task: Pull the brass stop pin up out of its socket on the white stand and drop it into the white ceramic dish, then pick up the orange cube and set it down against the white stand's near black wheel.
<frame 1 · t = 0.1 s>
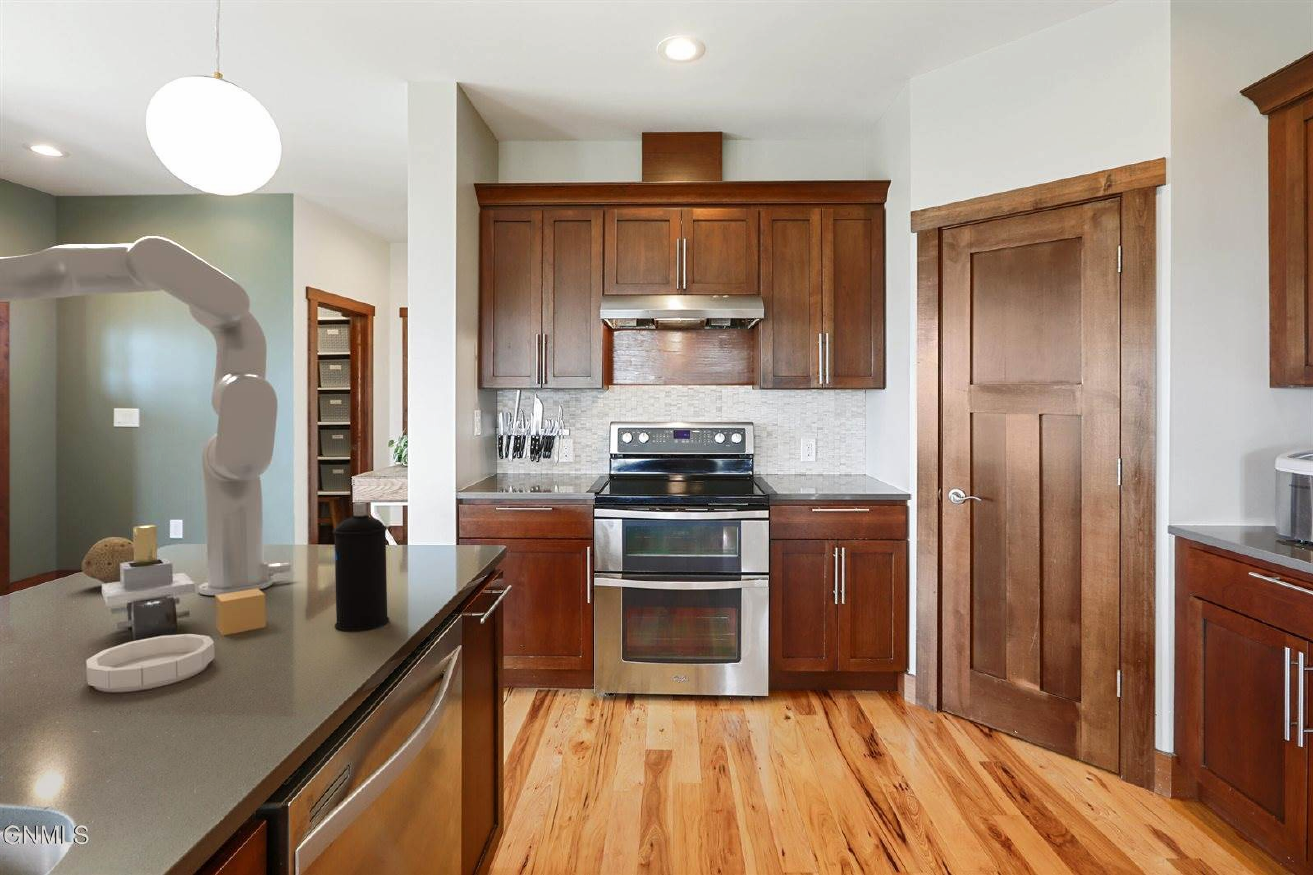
dish: (153, 673, 90), on the countertop
orange cube: (241, 628, 109), on the countertop
white stand: (150, 631, 107), on the countertop
pin: (146, 581, 109), point 7 cm above the countertop, touching white stand
aerosol can: (362, 625, 110), on the countertop
natural sponge: (112, 586, 136), on the countertop
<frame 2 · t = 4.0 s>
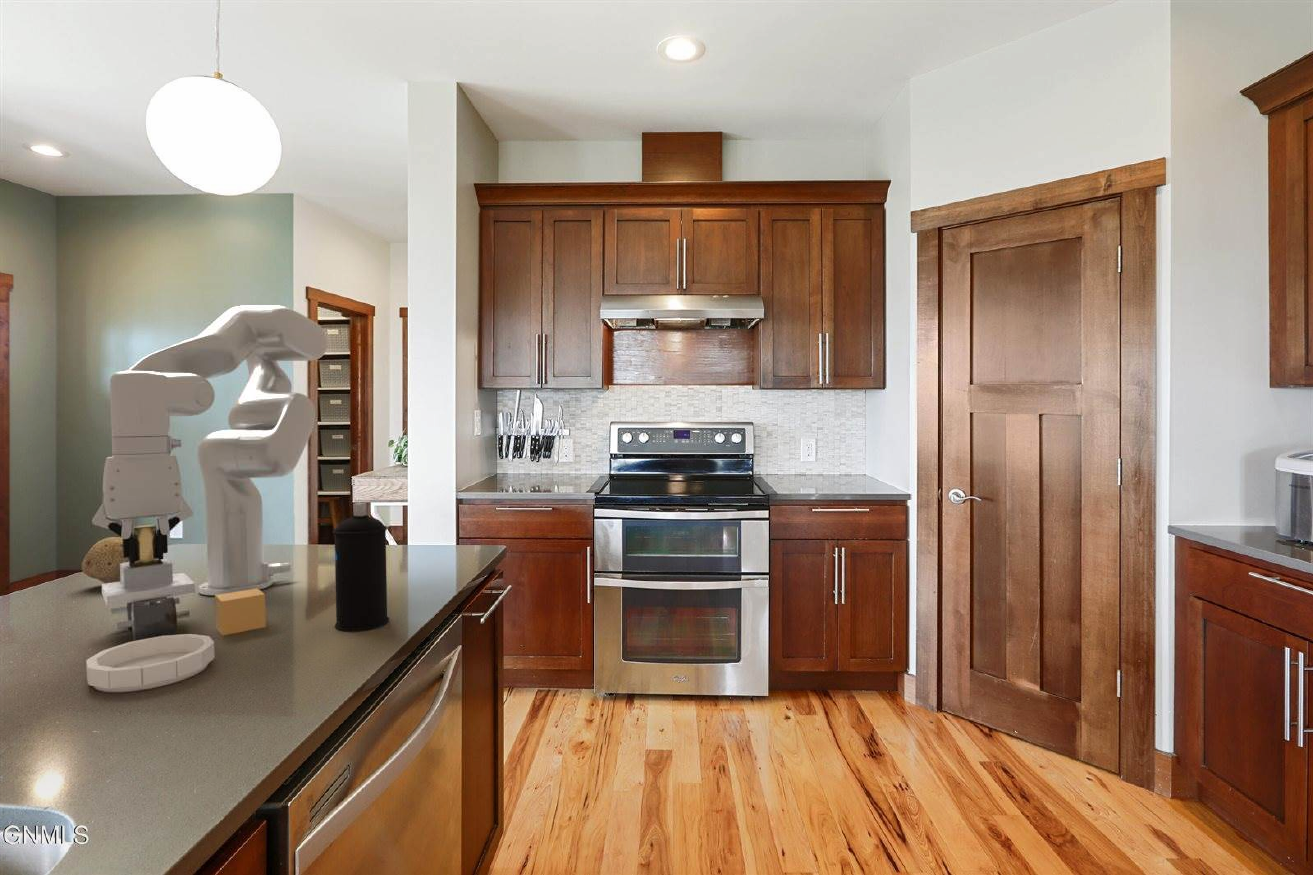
hand: (145, 558, 109), 11 cm above the countertop, tool pointing down, fingers closed on pin, 3 cm apart
pin: (146, 581, 109), point 8 cm above the countertop, touching gripper, white stand
everything else where it was.
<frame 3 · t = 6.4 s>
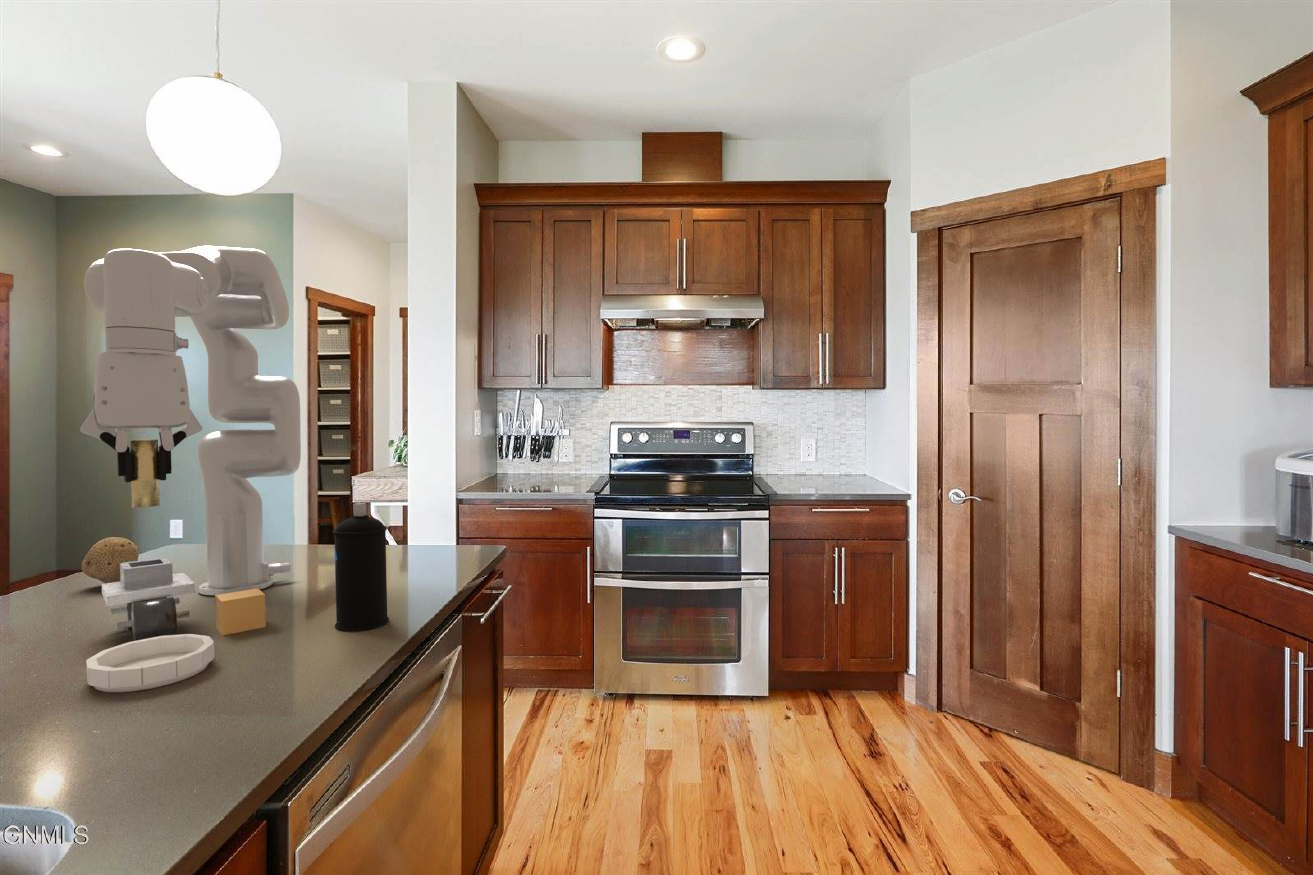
hand: (145, 479, 90), 26 cm above the countertop, tool pointing down, fingers closed on pin, 3 cm apart
pin: (146, 506, 90), point 22 cm above the countertop, touching gripper
everything else where it was.
when the fingers open (6 cm above the countertop, at t = 9.1 s): pin drops 2 cm, resting on dish.
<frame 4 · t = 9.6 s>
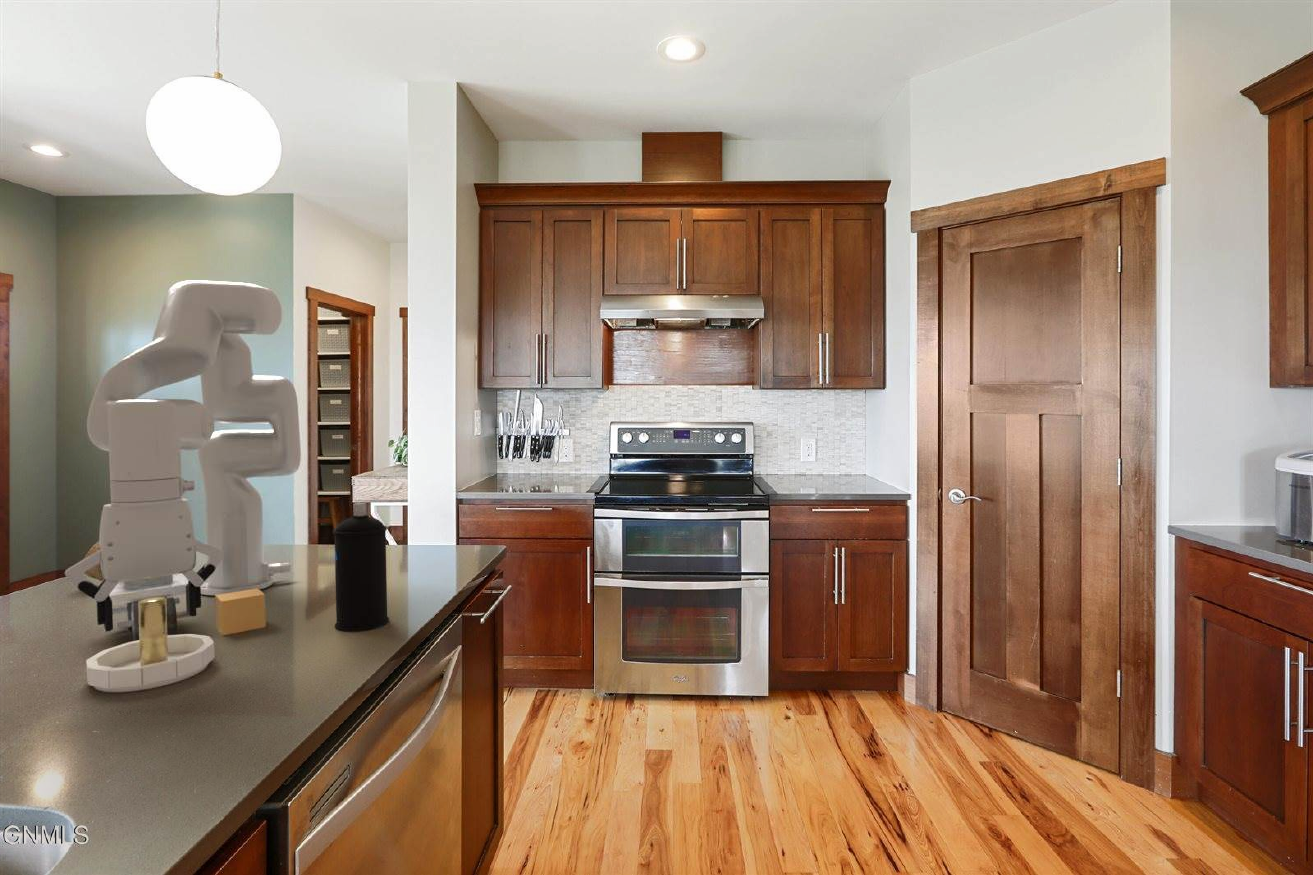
hand: (151, 620, 89), 7 cm above the countertop, tool pointing down, fingers open, 8 cm apart
pin: (154, 666, 90), point 1 cm above the countertop, touching dish
everything else where it was.
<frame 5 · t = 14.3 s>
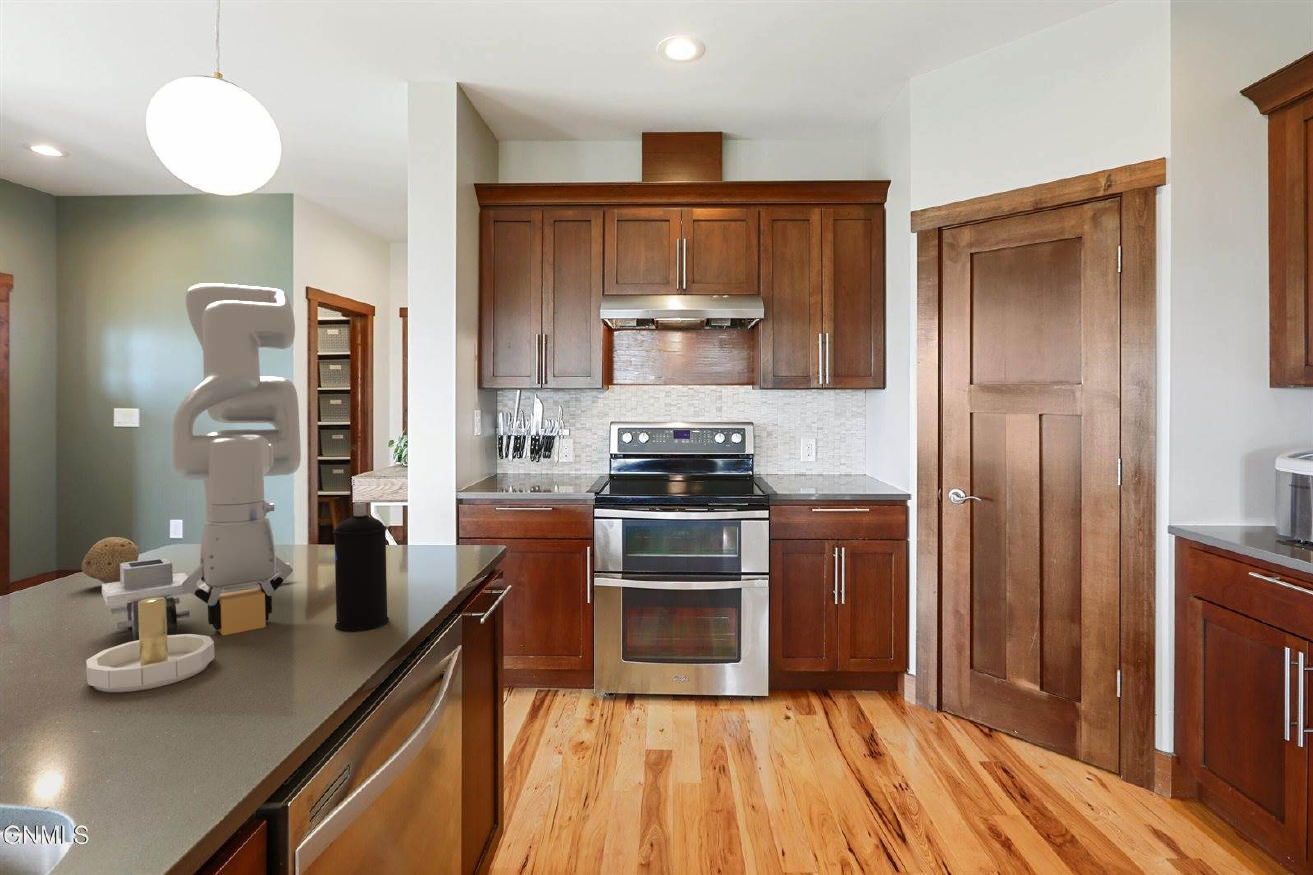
hand: (240, 622, 109), 1 cm above the countertop, tool pointing down, fingers closed on orange cube, 6 cm apart
orange cube: (241, 627, 109), on the countertop, touching gripper
everything else where it was.
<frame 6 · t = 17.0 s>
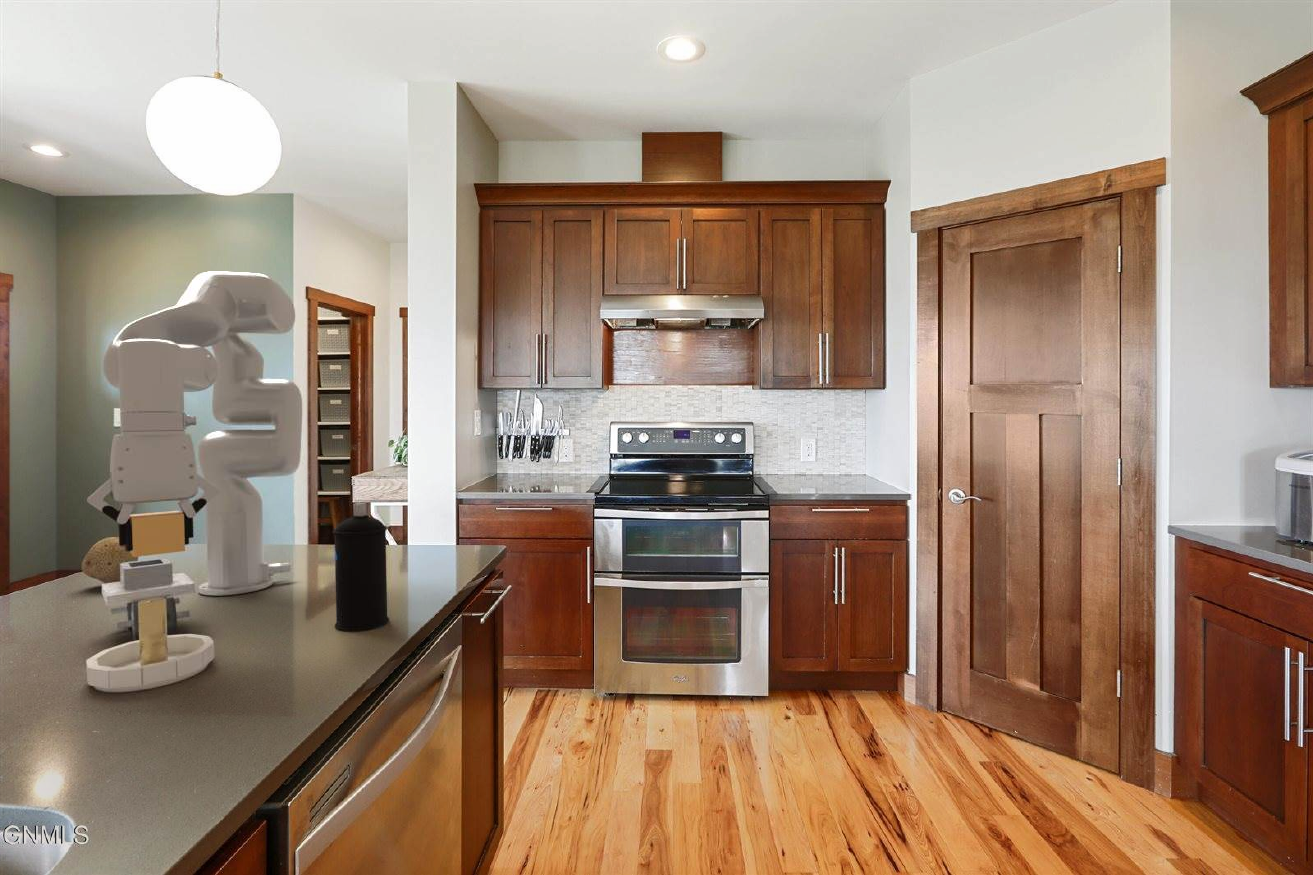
hand: (157, 545, 98), 15 cm above the countertop, tool pointing down, fingers closed on orange cube, 6 cm apart
orange cube: (157, 551, 98), point 15 cm above the countertop, touching gripper
everything else where it was.
when the fingers open (2 cm above the countertop, at t = 19.9 s): orange cube drops 1 cm, on the countertop.
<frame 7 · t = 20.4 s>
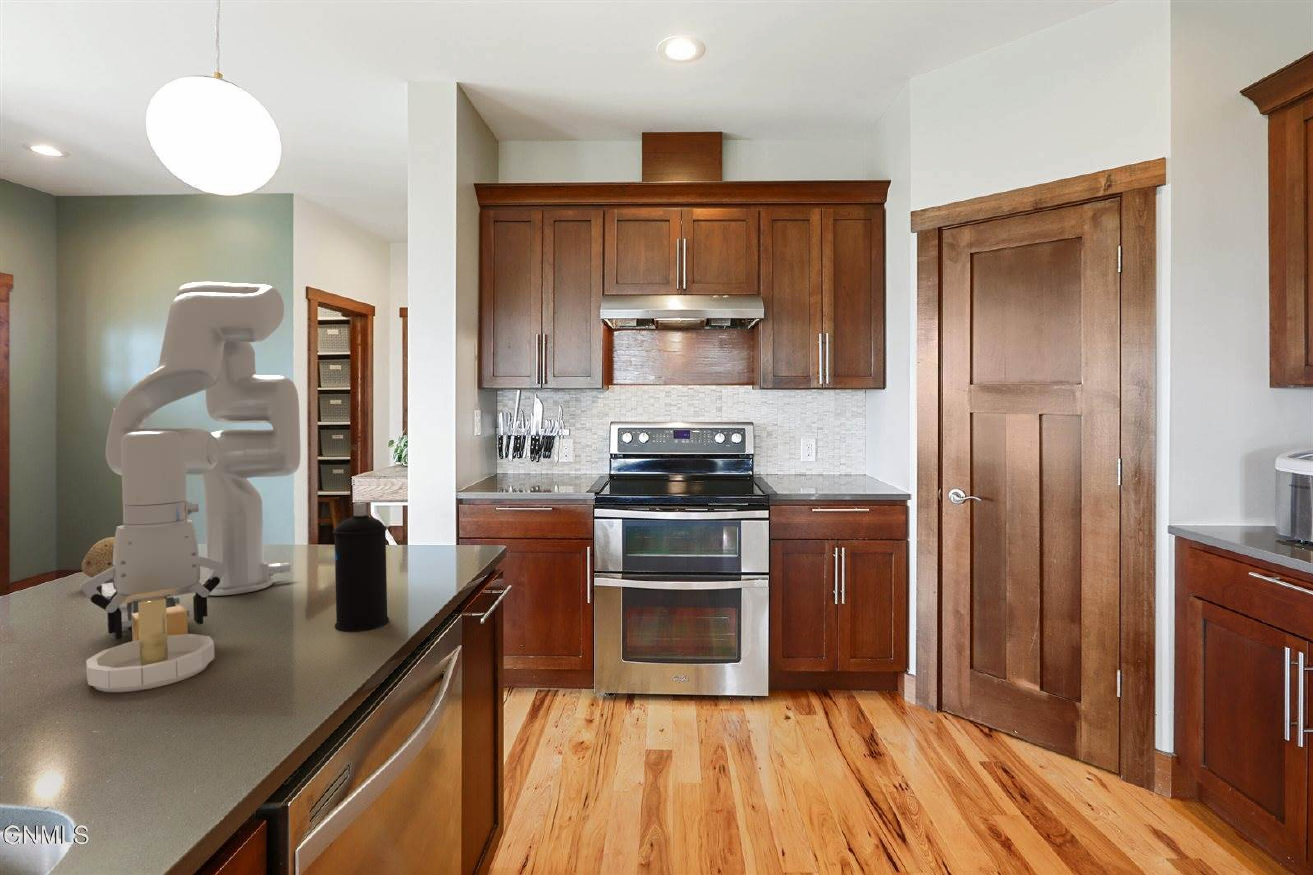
hand: (159, 629, 99), 3 cm above the countertop, tool pointing down, fingers open, 9 cm apart
orange cube: (160, 649, 99), on the countertop
everything else where it was.
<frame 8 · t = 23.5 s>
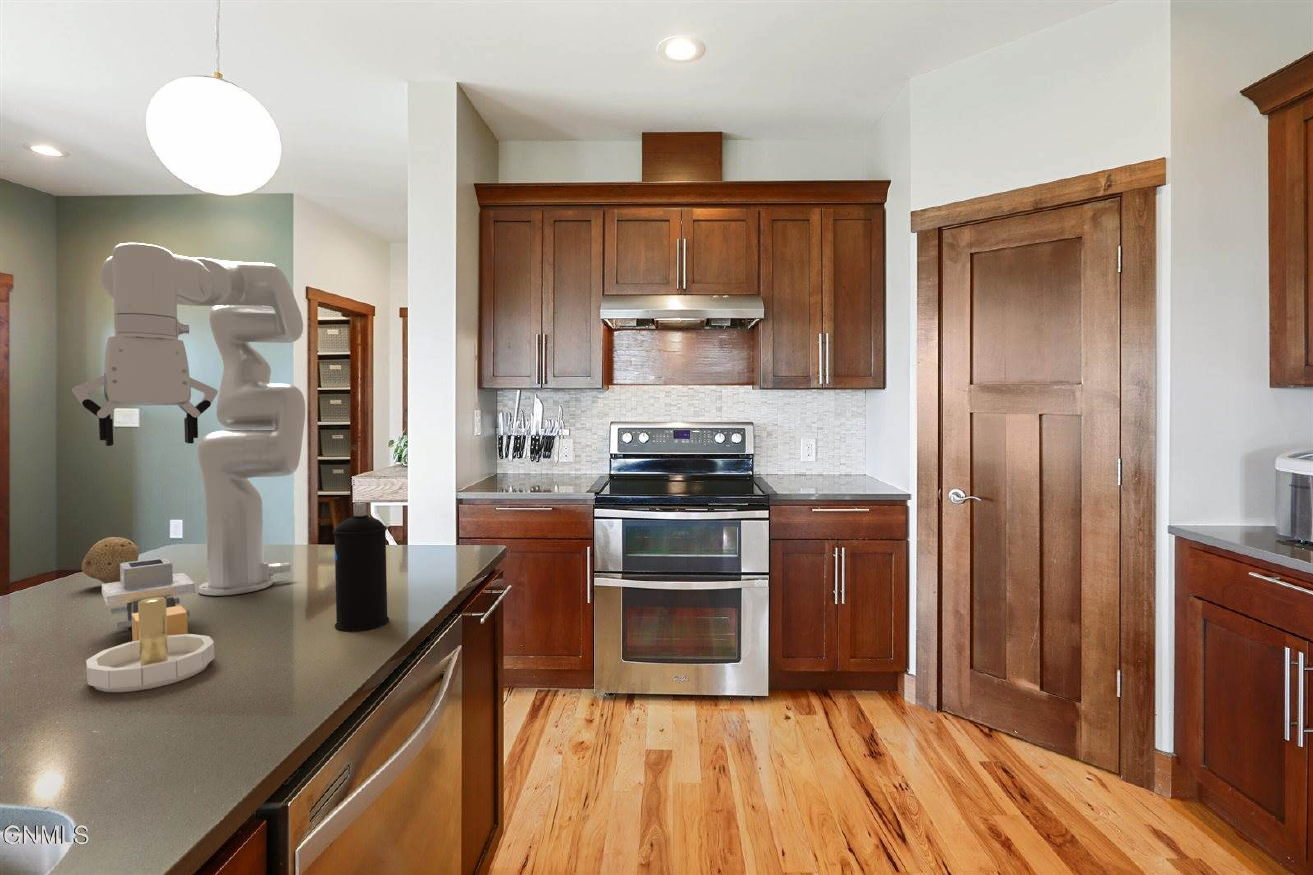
hand: (150, 444, 100), 30 cm above the countertop, tool pointing down, fingers open, 9 cm apart
nothing on the countertop moved.
at the end: pin 0.2 cm from the dish (horizontally); pin point 0.8 cm above the countertop; orange cube inside the target area on the countertop beside the white stand (0.2 cm from its centre), on the countertop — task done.
